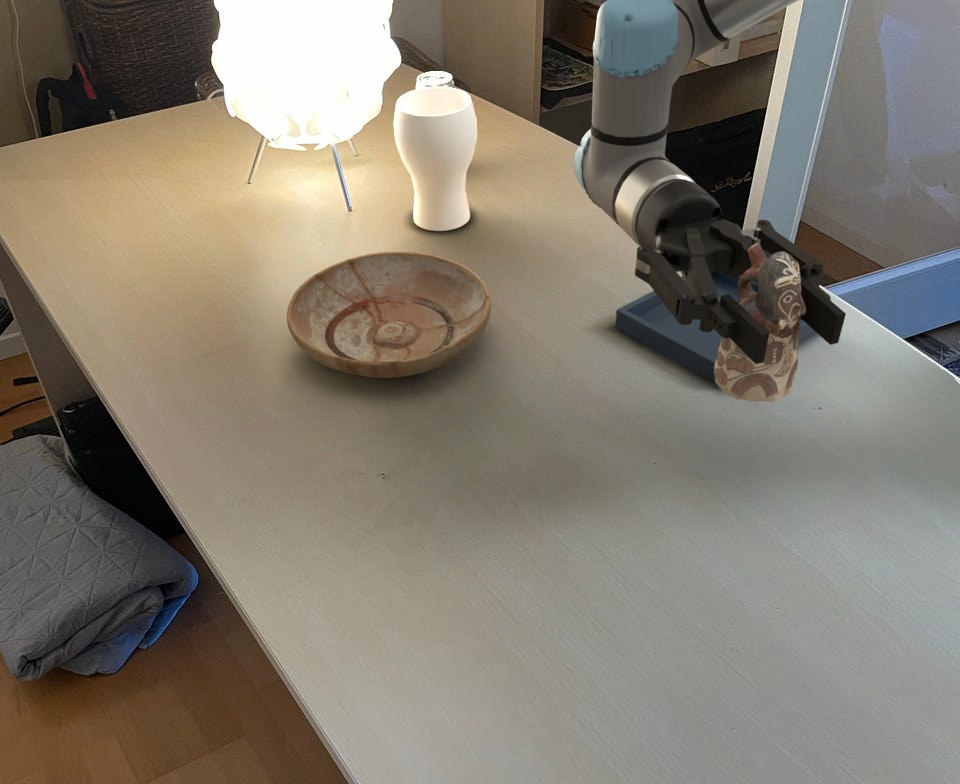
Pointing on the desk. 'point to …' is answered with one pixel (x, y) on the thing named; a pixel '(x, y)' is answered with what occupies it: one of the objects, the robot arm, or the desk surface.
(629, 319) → the tray
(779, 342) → the figurine
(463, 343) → the ceramic bowl
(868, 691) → the desk surface
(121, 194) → the desk surface
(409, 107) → the cup
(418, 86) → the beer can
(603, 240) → the desk surface
